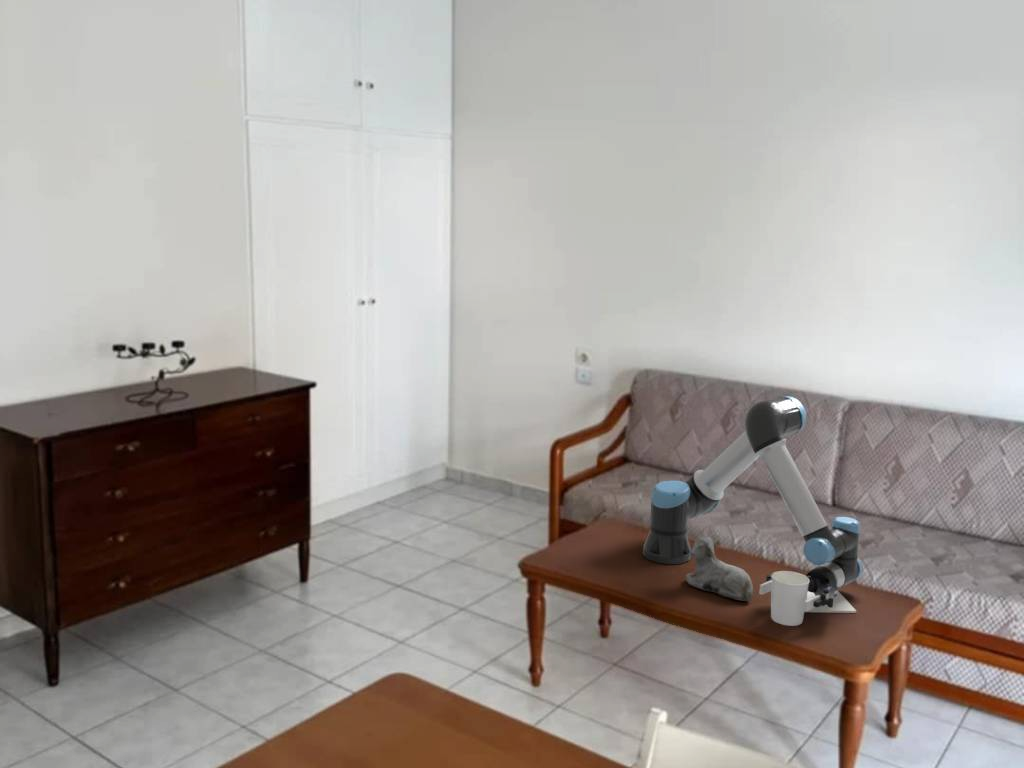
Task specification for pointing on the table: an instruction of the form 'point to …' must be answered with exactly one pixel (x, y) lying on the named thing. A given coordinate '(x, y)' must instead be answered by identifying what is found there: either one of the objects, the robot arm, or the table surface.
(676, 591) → the table surface
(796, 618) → the candle holder
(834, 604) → the tile
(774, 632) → the table surface
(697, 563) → the sculpture
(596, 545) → the table surface
